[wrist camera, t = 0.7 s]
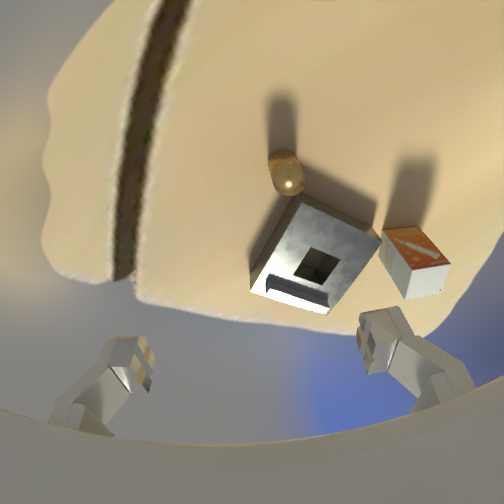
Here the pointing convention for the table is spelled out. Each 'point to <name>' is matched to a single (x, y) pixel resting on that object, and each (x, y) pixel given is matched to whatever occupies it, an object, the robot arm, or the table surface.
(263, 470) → the robot arm
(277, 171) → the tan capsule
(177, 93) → the table surface
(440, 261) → the small box
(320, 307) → the jig
